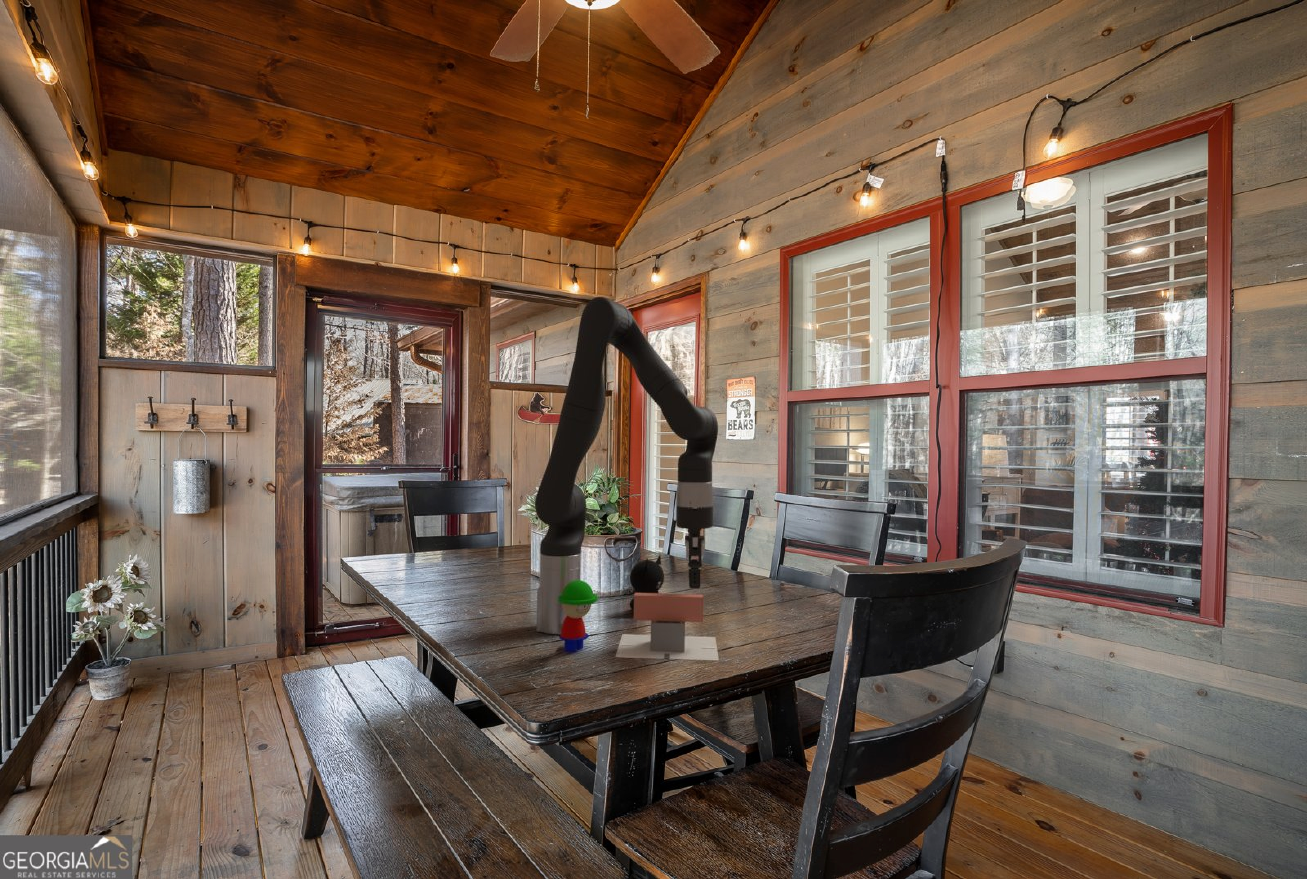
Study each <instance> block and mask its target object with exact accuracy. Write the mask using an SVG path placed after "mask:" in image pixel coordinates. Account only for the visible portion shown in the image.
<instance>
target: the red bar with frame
mask: <svg viewBox="0 0 1307 879" xmlns="http://www.w3.org/2000/svg"><path fill="white" fill-rule="evenodd" d="M633 598H634V611H633V621H648V622H649V621H650V635H651V643H650V651H657V652H685V636H686V623H703V622H704V594H691V593H690V594H689V593H635V592H634V595H633ZM660 621H677V623H659V622H660Z"/></svg>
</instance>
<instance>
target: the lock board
mask: <svg viewBox="0 0 1307 879" xmlns="http://www.w3.org/2000/svg"><path fill="white" fill-rule="evenodd" d="M659 623H677V621H660V622H659ZM650 643H651V634H623V633H622V635H621V638H620V641H619V644H618V647H617V650H616V654H615V656H614V657H615V658H626V659H627V658H628V659H629V658H630V659H632V658H634V659H655V660H656V659H657V660H659V659H660V660H663V659H664V660H691V661H692V660H693V661H718V662H719V661H720V660H719V654H718V647H717V640H716V636H694V635H693V636H692V635H691V636H690V635H689V636H687V635H685V652H657V651H650Z"/></svg>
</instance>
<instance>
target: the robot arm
mask: <svg viewBox="0 0 1307 879" xmlns="http://www.w3.org/2000/svg"><path fill="white" fill-rule="evenodd" d="M580 316H581V317H580V320H579V327H578V334H577V340H576V341H577V342H576V347H575V354H574V358H573V363H572V367H571V372H570V376H569V381H568V384H567V388H566V393H565V395H564V396H565V397H564V399H563V402H562V406H561V411H560V415H559V419H558V420H559V421H558V423H557V424H558V425H557V428H556V432H555V436H554V440H553V443H552V448H551V451H550V455H549V459H548V462H547V465H546V468H545V471H544V473H543V476H542V479H541V481H540V484H539V487H538V488H537V489H538V490H537V492H536V496H535V500H534V502H535V503H534V508H535V513H536V515H537V517H538V518H539V520H540V521H541V522H542V523H544V524H545V525H548V530H547V532H546V534H545V536H544V537H543V538H542V539H541V541H540V544H539V546H540V547H539V587H538V588H537V590H536V629H535V630H536V632H540V633H545V634H548V635H560V634H561V629H562V624H563V622H564V619H565V618H566V616H567V615H566V614H565V612H564V611H563V608H562V603H560V602H559V601H558V596H559V595H561V594H562V592H563V589H564V588H565V586H566V585H567V584H568V583H570V582H572V581H575V580H581V573H582V572H581V570H582V568H581V567H582V565H581V564H582V563H581V562H582V545H583V542H584V540H585V534H586V522H587V521H586V517H587V500H586V495H585V493H584V491H583V489H582V488H581V487H580V485H578V484H577V483H575V482H576V479H577V475H578V471H579V468H580V466H581V463H582V462H583V460H584V458H585V456H586V455H587V453H588V452H589V450H590V448H591V447H592V445H593V443H594V442H595V440H596V438H597V436H598V434H599V431H600V428H601V424H602V422H603V421H602V420H603V417H604V413H605V410H606V409H605V408H606V403H607V400H606V399H607V398H606V396H607V395H606V388H605V382H604V372H603V369H604V360H605V355H606V353H607V348H608V345H611V346H612V347H614V348H616V349H617V350H618V351H619V352H620V353H622V355H624V356H625V358H626V359H627V360H628V362H629V363H630V364H631V367H632V368H633V370H634V373H635V375H636V377H637V379H638V382H639V383H640V385H641V386H642V388H643V389H644V390H645V392H646V393H647V394H648V395H649V396H650V398H651V399H652V401H654V403H655V404H656V405H657V406H658V407H659V409H660V411H661V413H662V416H663V417H664V420H665V421H666V423H667V424H668V427H669V428H670V429H671V431H673V433H674V434H675V435H677V436H678V437H679V438H680V439H681V440H685V441H686V447H685V448H686V449H685V452H683V453H682V454H680V455H679V456H678V459H677V488H676V496H675V498H676V501H675V502H676V507H675V508H676V509H675V510H676V512H675V522H676V523H675V525H676V527H677V528H680V529H687V534H688V535H684V547H685V557H686V558H685V559H686V560H688V563H687V568H688V588H690V589H700V588H701V569H702V567H703V563H702V560H703V559H704V547H705V535H701V531H702V530H703V529H705V530H706V529H710V528H711V529H712V527H713V526H714V488H713V458H714V454H715V451H716V446H717V445H716V444H717V440H718V435H719V434H718V433H719V423H718V419H717V417H716V414H715V413H714V411H712V410H711V409H710V408H708V407H705V406H699V405H697V406H696V405H695V404H694V403H693V402H692V401H691V400H690V399H689V398H688V389H687V386H686V385H685V384H684V382H683V381H682V380H681V379H680V378H679V377H678V375H676V373H675V372H674V371H673V370H672V369H671V368H670V366H668V364H667V363H666V362H665V360H663V358H662V357H661V356H660V355H659V353H657V351H656V350H655V349H654V346H652V344H651V343H650V342H649V341H648V339H647V337H646V336H645V334H644V333H643V331H642V329H641V328H640V326H639V324H638V322H637V321H636V319H635V317H634V316H633V314H632V312H631V311H630V310H629V308H627V307H626V306H625V305H623V304H622V303H619V302H617V301H614V300H612V299H610V298H608V297H604V296H597V297H594V298H591V299H590V300H589V301H588V302H587V304H586V305H585V307H584V308H583V310H582V314H581V315H580ZM581 581H582V580H581Z"/></svg>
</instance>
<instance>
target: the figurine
mask: <svg viewBox="0 0 1307 879" xmlns="http://www.w3.org/2000/svg"><path fill="white" fill-rule="evenodd" d="M629 581H630V584H631V587H632V588H633V589H634V594H635V593H659V590H660V589H661V588H662V587H663V584H664V581H665V573H664V570H663V568H662V560H661V554H659V555H658V557H657V559H656V561H653V560H650V559H648V558H646V559H645V560H641V561H638V563H636V564H635V565H634V566H633V567H632V569H631V571H630V574H629ZM629 608H630V609H631V610H632V611H633V612H634V597H633V598H632V599H630V601H629Z"/></svg>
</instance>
